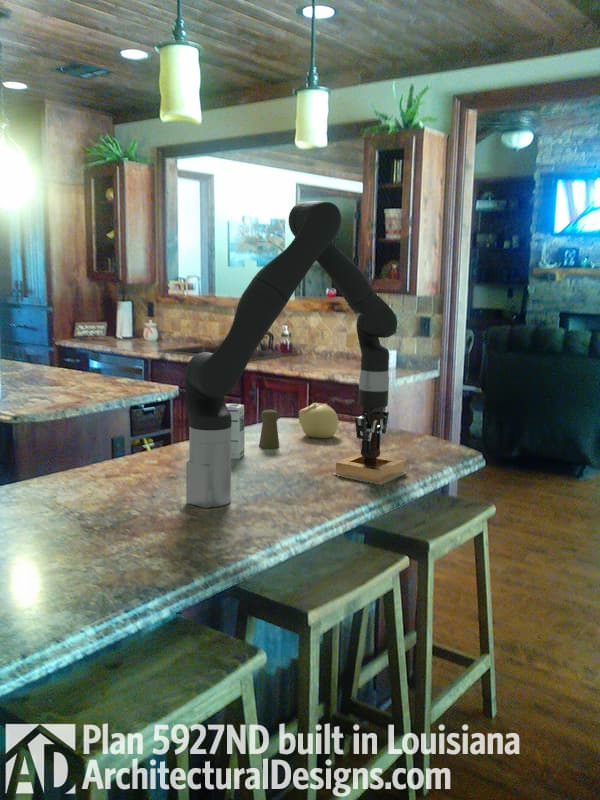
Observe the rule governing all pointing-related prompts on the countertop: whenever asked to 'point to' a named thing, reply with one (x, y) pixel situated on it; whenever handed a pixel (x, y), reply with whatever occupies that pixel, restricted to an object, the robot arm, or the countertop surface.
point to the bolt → (373, 442)
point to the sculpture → (318, 420)
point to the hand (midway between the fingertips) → (370, 452)
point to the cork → (269, 430)
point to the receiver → (370, 469)
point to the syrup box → (237, 430)
